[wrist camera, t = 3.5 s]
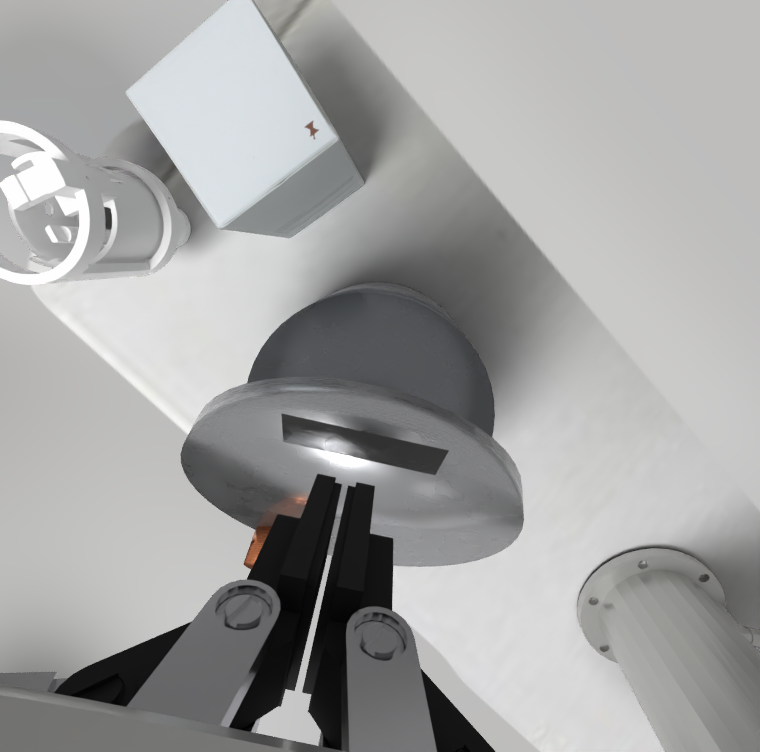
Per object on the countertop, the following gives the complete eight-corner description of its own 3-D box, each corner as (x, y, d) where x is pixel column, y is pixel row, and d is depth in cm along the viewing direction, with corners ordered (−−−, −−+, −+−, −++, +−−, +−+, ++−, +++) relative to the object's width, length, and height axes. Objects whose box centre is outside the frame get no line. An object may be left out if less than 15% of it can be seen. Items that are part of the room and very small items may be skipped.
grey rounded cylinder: (491, 305, 33) (527, 325, 24) (443, 474, 37) (457, 549, 28) (303, 263, 33) (262, 265, 24) (275, 437, 37) (230, 499, 28)
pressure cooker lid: (593, 433, 15) (611, 530, 13) (463, 559, 28) (460, 620, 26) (156, 336, 15) (98, 416, 13) (221, 506, 28) (197, 562, 25)
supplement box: (310, 89, 30) (246, -24, 18) (367, 185, 32) (344, 140, 19) (228, 152, 31) (117, 87, 19) (286, 242, 33) (218, 233, 21)
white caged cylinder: (231, 253, 33) (100, 251, 19) (154, 287, 34) (-27, 309, 20) (189, 161, 32) (10, 81, 17) (109, 199, 33) (-123, 154, 18)
